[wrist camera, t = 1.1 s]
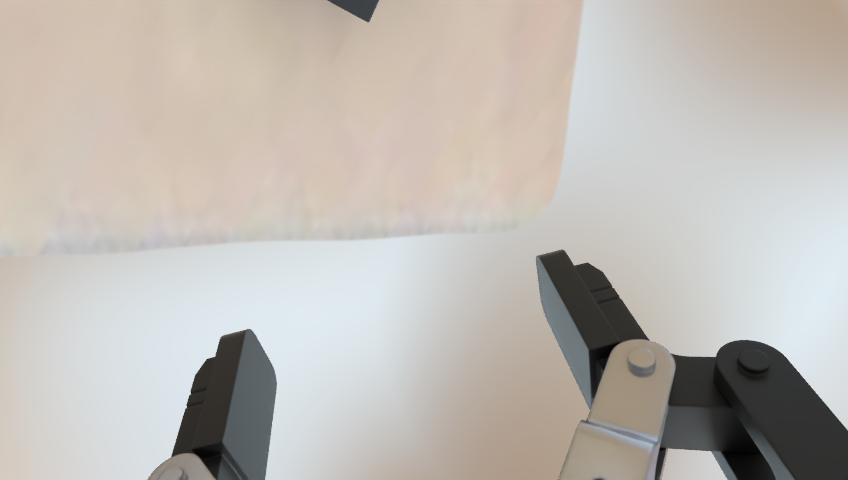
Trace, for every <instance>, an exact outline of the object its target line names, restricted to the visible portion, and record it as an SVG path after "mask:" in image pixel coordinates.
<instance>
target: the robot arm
mask: <svg viewBox="0 0 848 480" xmlns="http://www.w3.org/2000/svg"><path fill="white" fill-rule="evenodd" d="M536 265H537V273H538V281H539V289H540V296H541V303H542V307H543V310H544V313H545V316H546V318H547V321H548V323H549V325H550V327H551V329H552V331H553V333H554V335H555V337H556V340H557V342H558V344H559V346H560V348H561V350H562V352H563V354H564V356H565V359H566V361H567V363H568V365H569V367H570V369H571V371H572V373H573V375H574V377H575V380H576V382H577V384H578V386H579V388H580V390H581V392H582V394H583V396H584V398H585V400H586V403H587V405H588V407H589V409H590V413H589V415H588V418H587V420H586V421H585V420H581V421H580V423H579V424H578V426H577V428H576V431H575V434H574V437H573V439H572V442H571V445H570V448H569V450H568V453H567V456H566V459H565V461H564V464H563V467H562V470H561V472H560V475H559V478H558V480H661V479H662V475H663V470H664V466H665V460H666V456H667V452H668V448H672V449H687V450H703V451H712V453H713V455H714V457H715V458H716V460H717V462H718V463H719V465H720V467H721V469H722V470H723V472H724V474H725V476H726V477H727V479H728V480H848V430H847V429H846V428H845V427H844V426H843V424H842V423H841V422H840V421H839V420H838V419H837V417H836V416H835V415H834V414H833V413H832V411H831V410H830V409H829V408H828V407H827V406H826V404H825V403H824V402H823V401H822V400H821V399H820V397H819V396H818V395H817V394H816V393H815V391H814V390H813V389H812V388H811V386H810V385H809V384H808V383H807V382H806V381H805V379H804V378H803V377H802V376H801V375H800V373H799V372H798V371H797V370H796V369H795V368H794V366H793V365H792V364H791V363H790V362H789V361H788V359H787V358H786V357H785V356H784V355H783V354H782V353H781V352H779V351H778V350H776V349H775V348H773V347H771V346H769V345H766V344H764V343H761V342H756V341H750V340H739V341H733V342H730V343H728V344H726V345H724V346H723V347H721V348H720V349H719V351H718V353H717V356H716V357H686V356H679V355H674V354H671V353H670V352H669V351H668V350H667V349H666V348H664V347H663V346H661V345H659V344H657V343H655V342H652V341H650V340H649V339H648V338H647V336H646V335H645V334H644V332H643V331H642V329H641V328H640V326H639V325H638V323H637V322H636V320H635V319H634V317H633V316H632V314H631V313H630V312H629V310H628V309H627V307H626V306H625V304H624V303H623V301H622V300H621V299H620V298H619V295H618V294H617V292H616V291H615V289H614V288H612V285H611V283H610V282H609V281H608V279H607V278H606V276H605V275H604V273H603V272H602V271H600V270H598V269H597V268H595V267H594V266H592V265H591V264H589V263H584V264H580V265H576V266H574V265H573V263H572V262H571V260H570V258H569V257H568V255H567V254H566V252H565V251H564V250H559V251H555V252H551V253H547V254H543V255H539V256H537V257H536ZM276 385H277V382H276V375H275V371H274V368H273V366H272V364H271V362H270V360H269V358H268V357H267V355H266V353H265V351H264V350H263V348H262V346H261V344H260V342H259V341H258V339H257V337H256V335H255V334H254V332H253V331H252V330H250V329H247V330H243V331H240V332H235V333H232V334H228V335H224V336H222V337H221V339H220V342H219V345H218V349H217V352H216V356H215V357H213V358H209V359H207V360H206V361H205V363H204V364H203V365H202V367H201V368H200V370H199V371H198V373H197V374H196V375H195V378H194V382H193V385H192V389H191V395H190V396H189V399H188V402H187V408H186V409H185V412H184V416H183V419H182V422H181V426H180V429H179V433H178V436H177V439H176V443H175V446H174V449H173V453H172V457H171V458H170V459H168V460H166V461H165V462H163V463H162V464H161V465H160V466H158V467H157V468H156V469H155V470H154V471H153V473H152V474H151V476H150V477H149V478H148V480H265V475H266V467H267V458H268V452H269V444H270V435H271V427H272V420H273V412H274V404H275V396H276Z"/></svg>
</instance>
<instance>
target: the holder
mask: <svg viewBox="0 0 848 480" xmlns="http://www.w3.org/2000/svg"><path fill="white" fill-rule="evenodd" d="M328 1H330V2H331V3H333V4H335V5H337V6H339V7H341V8H342V9H344V10H346V11H348V12H350V13H352V14H354V15H355V16H357V17H359V18H361V19H363V20H365V21H366V22H369V21H370V19H371V17H372V15H373V12H374V10H375V8H376V6H377V4H378V1H379V0H328Z"/></svg>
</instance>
